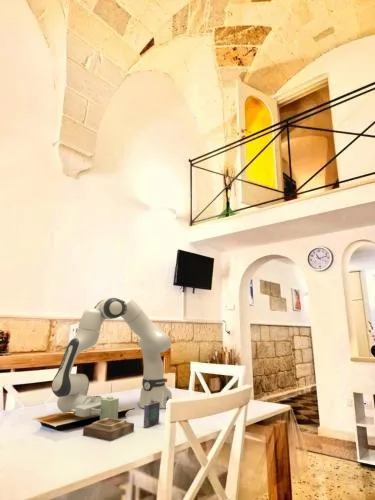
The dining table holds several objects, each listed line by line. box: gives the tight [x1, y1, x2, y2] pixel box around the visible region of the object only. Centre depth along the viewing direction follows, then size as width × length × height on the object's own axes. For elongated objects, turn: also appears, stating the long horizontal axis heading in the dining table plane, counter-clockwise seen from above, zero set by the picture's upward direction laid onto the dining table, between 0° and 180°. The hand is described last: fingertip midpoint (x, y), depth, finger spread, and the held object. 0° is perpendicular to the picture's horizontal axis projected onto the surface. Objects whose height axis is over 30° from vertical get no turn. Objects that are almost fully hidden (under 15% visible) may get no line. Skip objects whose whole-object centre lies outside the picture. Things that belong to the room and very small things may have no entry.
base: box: [82, 418, 135, 442], centre depth 131 cm, size 14×14×4 cm
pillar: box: [99, 396, 120, 421], centre depth 146 cm, size 6×6×11 cm
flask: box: [143, 398, 160, 429], centre depth 143 cm, size 9×3×11 cm, turn 146°
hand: (108, 409), depth 146 cm, fingers open, 8 cm apart
